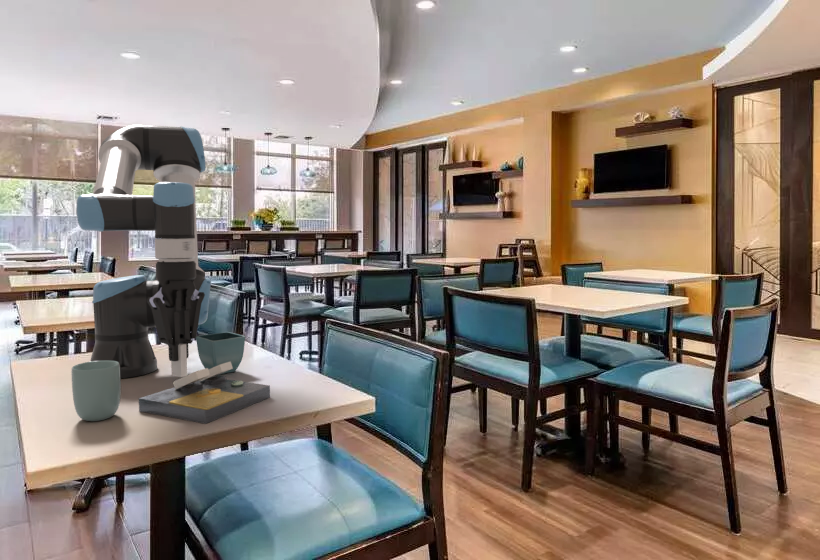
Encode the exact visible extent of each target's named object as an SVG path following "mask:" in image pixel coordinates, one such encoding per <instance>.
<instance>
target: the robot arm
mask: <svg viewBox="0 0 820 560" xmlns="http://www.w3.org/2000/svg"><path fill="white" fill-rule="evenodd" d="M98 160H99V163H100V165H99V168H98V172H97V176H96V181H95V183H94V184H95V185H94V188H93V191H92V193H91V192H90V193H88V194H87V193H86V194H85V193H84V194H80V195H78V197H77V199H76V218H77V223H78V226H79V228H80V229H82V230H83V231H93V232H94V231H95V232H102V233H103V232H124V231H125V232H126V231H128V232H129V231H131V232H133V231H134V232H135V231H136V232H138V231H139V232H140V231H141V232H145V231H146V232H153V231H154V234H155V235H154V255H155V256H154V257H155V259H156V260H158V261H156V262H155V279H154V280H148V279H147V276H146V275H144V274H138V275H128V276H122V277H121V276H120V277H113V278H109V279H104V280H101V281H98V282H97V283H95V284H94V286H93V289H92V290H93V291H92V302H91V303H92V304H93V318H94V320H93V321H94V341H95V343H94V346H93V350H92V353H91V357H90V361H89V362H91V361H105V360H109V361H117V362H119V365H120V379H128V378H133V377H138V376H139V377H140V376H144V375H147V374H151V373H153V372H155V371H156V370H157V369H158V360H157V357H156V356H155V351H154V349H153V345H152V344H151V342H150V340H149V329H150V328H151V329H152V328H155V329H156V334H157V338H158V342H159V343H160V344H164V345H167V346H168V359H169V361H170V363H171V364H170V367H171V376H172V377H178V378H183V377H185V376H187V375H188V360H187V359H189V355H190V354H189V344H192V343H193V341H194V339H195V340H196V336H198V335H197V334H198V329H199V328H198V327H199V325H202V324H204V323H205V322H206V321H207V320H208V315H209V314H208V313H209V305H210V297H211V284H212V280H211V279H210V278H208V277H206V273H205V270H203V269H202V268H201V267H200V266H199V255H198V254H199V253H198V250H199V249H198V229H197V207H196V206H197V205H196V182H197V181H198V180H199V179H200V178H201V173H204V172H205V171H206V167H207V166H206V157H205V148H204V144H203V140H202V135H201V133H200V131H199V130H197V129H196V128H193V127H185V126H182V125H181V126H166V125H165V126H164V125H152V124H151V125H146V124H132V125H131V124H130V125H128V126H125V127H122V128H119V129H117V130H115V131H114V132H112V133H111V134H108V136H107V137H106V138H105V139H104V140H103V141H102V142H101V143H100V147H99V150H98ZM139 170H142V171H153V177H154V178H155V179H156V180H158V182H157V183H155V184H154V185H153V195H152V194H151V195H149V194H148V195H147V194H145V195H144V194H142V195H141V194H139V195H138V194H133V190H134V183H135V176H136V171H139Z"/></svg>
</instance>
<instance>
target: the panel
mask: <svg viewBox="0 0 820 560" xmlns="http://www.w3.org/2000/svg"><path fill="white" fill-rule="evenodd" d="M269 398H271V386H270V385H269V384H268V385H267V384H263V383H256V382H248V381H243V380H233V379H226V375H221V374H220V375H217V376H214V377H212V378H208V379H205V380H203V381H200V382H199V381H197V382H195V383H192V384H189V385H186V386H183V387H180V388H179V389H176V390H175V387H174V386H173V387H171V388H168V389H167V388H166V389H164V390H160V391H159V392H154V393H152V394H148V395H146V396H142V397H139V398H138V412H142V413H147V414H153V415H158V416H164V417H169V418H173V419H179V420H184V421H190V422H193V423H194V422H195V423H200V424H204V425H206V424H208V423H211V422H213V421H216V420H218V419H221V418H223V417H226V416H228V415H230V414H232V413H235V412H237V411H240V410H243V409H245V408H248V407H250V406H253V405H255V404H257V403H260V402H262V401H266V400H267V399H269Z"/></svg>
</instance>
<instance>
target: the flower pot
mask: <svg viewBox="0 0 820 560" xmlns="http://www.w3.org/2000/svg"><path fill="white" fill-rule="evenodd" d="M195 342H196V347H197V353H198V358H199V360H200V362H201V364H202V366H203V367H204V368H203V369H205V368H208V370H209V369H211V368H213V367H215V366H218V365H220V364H223V363H227V362H230V361H231V364H232V367H233V369H231V370H228V371H226V372H224V373H221V374H219V375H220V376H221V375H223V374H229V373H235V372H236V371H237V370H238V368H239V367H240V365H241V362H242V360H243V357H244V352H245V342H246V336H245V335H242V334H239V333H234V332H230V331H223V332H217V333H211V334H209V333H208V334H201V335H197V336H196V338H195Z"/></svg>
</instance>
